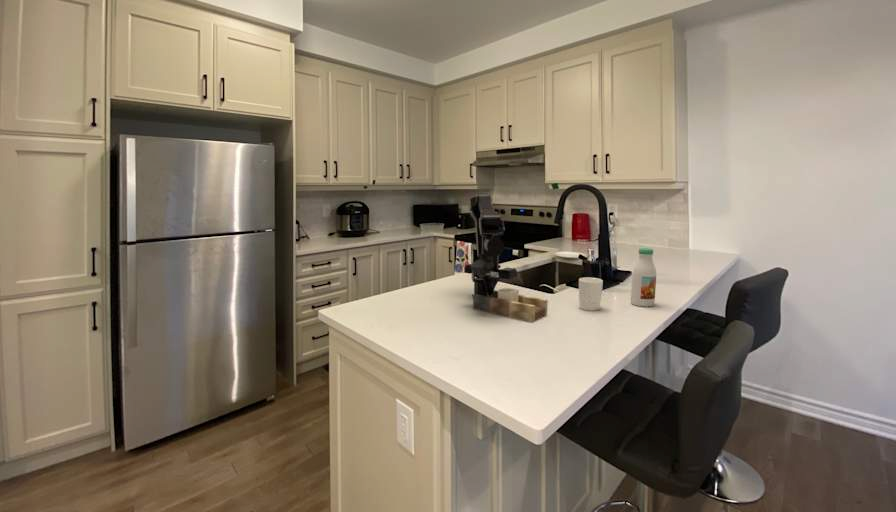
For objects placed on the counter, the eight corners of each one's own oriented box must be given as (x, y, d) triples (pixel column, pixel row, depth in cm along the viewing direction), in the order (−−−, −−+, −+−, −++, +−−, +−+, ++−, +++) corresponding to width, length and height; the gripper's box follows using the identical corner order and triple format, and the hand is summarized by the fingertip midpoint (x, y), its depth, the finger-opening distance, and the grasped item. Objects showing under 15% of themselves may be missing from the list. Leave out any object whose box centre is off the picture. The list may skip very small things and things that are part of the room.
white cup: (598, 305, 150) (599, 277, 148) (604, 311, 142) (605, 282, 140) (575, 304, 150) (576, 277, 149) (580, 311, 143) (581, 282, 141)
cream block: (497, 304, 142) (498, 290, 141) (505, 301, 146) (505, 287, 145) (510, 307, 139) (510, 292, 138) (518, 303, 143) (518, 289, 142)
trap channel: (473, 308, 146) (473, 294, 145) (489, 302, 154) (489, 289, 153) (532, 321, 131) (532, 306, 131) (547, 314, 139) (547, 299, 138)
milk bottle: (630, 306, 148) (634, 249, 145) (630, 300, 155) (633, 246, 152) (655, 308, 145) (659, 251, 142) (653, 302, 152) (657, 247, 149)
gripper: (454, 251, 144) (454, 295, 147) (500, 256, 132) (500, 304, 135) (473, 247, 152) (473, 289, 155) (518, 252, 141) (517, 297, 143)
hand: (489, 295), depth 147 cm, fingers closed
